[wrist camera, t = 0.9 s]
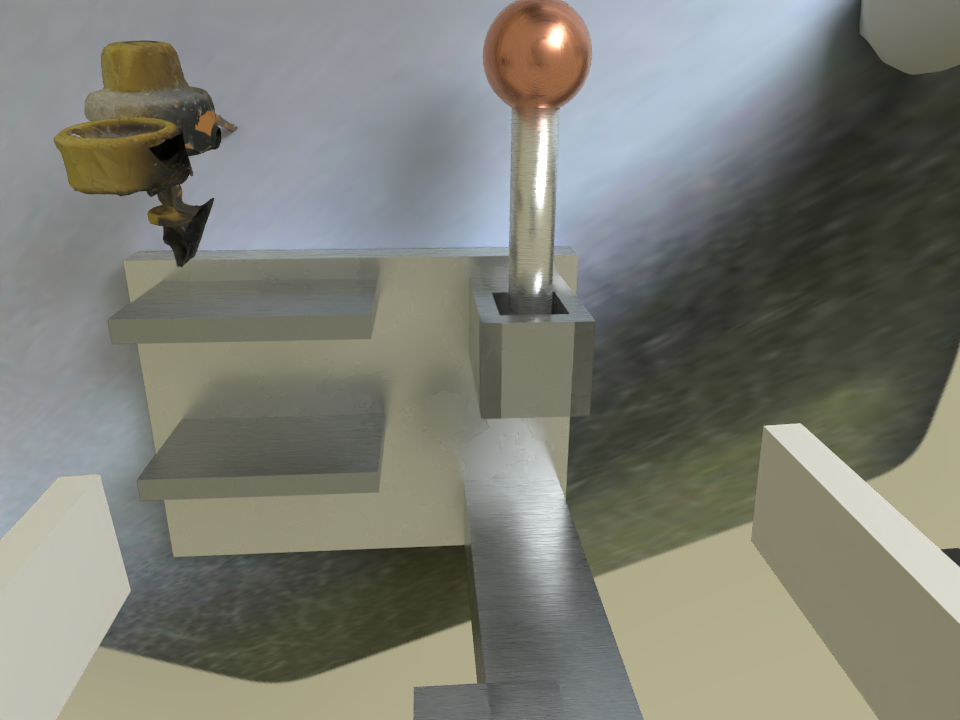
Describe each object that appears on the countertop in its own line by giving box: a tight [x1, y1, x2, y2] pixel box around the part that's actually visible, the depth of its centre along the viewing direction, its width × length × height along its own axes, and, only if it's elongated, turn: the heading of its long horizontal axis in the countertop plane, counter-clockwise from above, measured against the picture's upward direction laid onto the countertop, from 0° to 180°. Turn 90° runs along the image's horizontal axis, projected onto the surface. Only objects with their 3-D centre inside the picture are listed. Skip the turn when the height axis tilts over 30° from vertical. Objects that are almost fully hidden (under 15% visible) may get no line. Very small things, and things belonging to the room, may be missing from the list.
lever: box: [483, 0, 592, 315], centre depth 28 cm, size 14×4×4 cm, turn 0°
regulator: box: [54, 41, 237, 267], centre depth 26 cm, size 8×4×15 cm, turn 2°
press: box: [108, 247, 643, 720], centre depth 29 cm, size 16×21×20 cm
